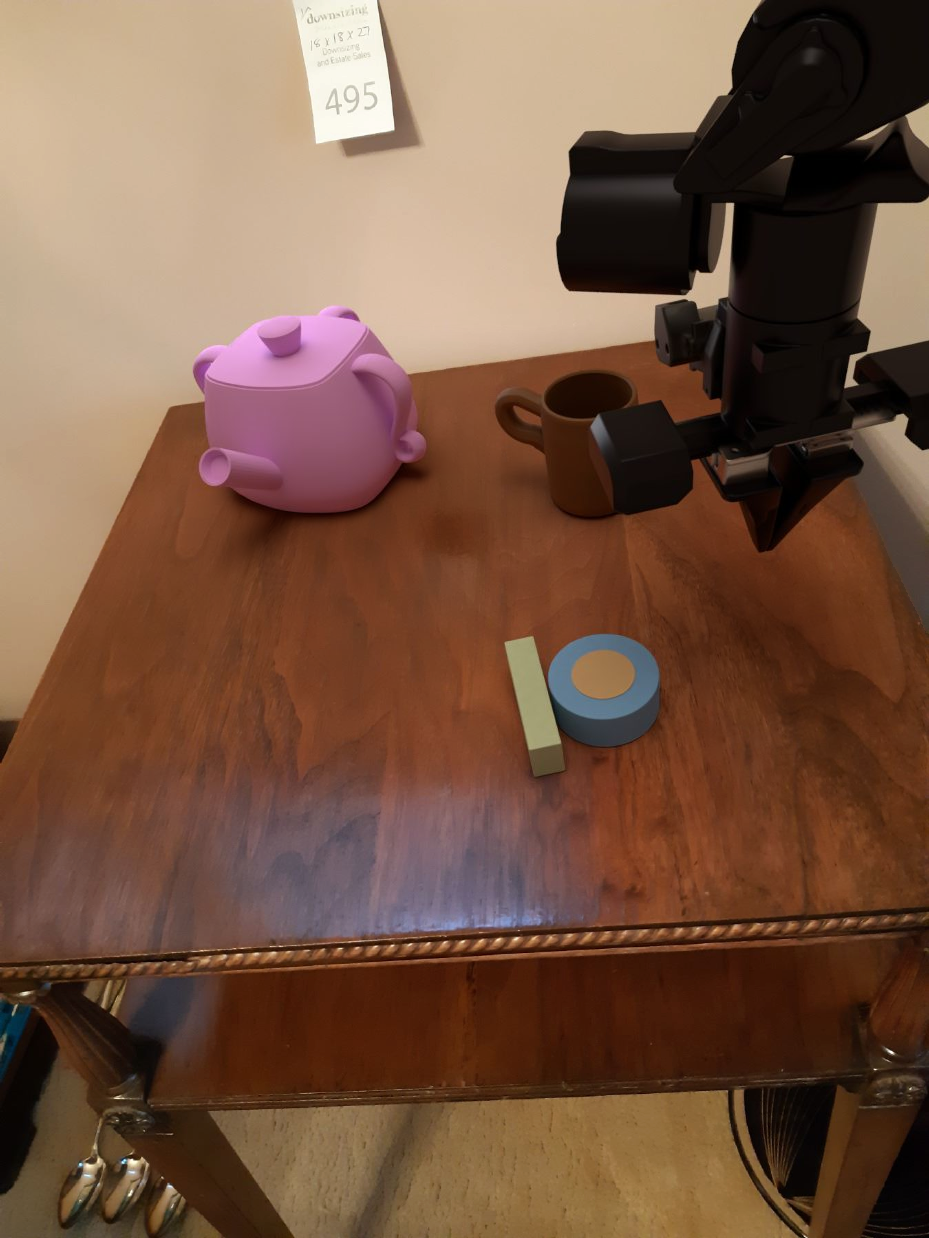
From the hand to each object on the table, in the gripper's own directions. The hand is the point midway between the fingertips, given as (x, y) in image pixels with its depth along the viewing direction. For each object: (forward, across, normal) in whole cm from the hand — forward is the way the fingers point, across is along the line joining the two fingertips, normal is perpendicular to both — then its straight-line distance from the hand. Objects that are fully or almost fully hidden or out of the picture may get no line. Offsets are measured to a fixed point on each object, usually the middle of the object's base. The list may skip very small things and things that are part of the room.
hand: (762, 547), depth 49 cm
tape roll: (+10, +10, +2) cm, 14 cm away
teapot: (+10, +29, -32) cm, 44 cm away
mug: (+10, +7, -21) cm, 25 cm away
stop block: (+10, +15, +2) cm, 18 cm away
